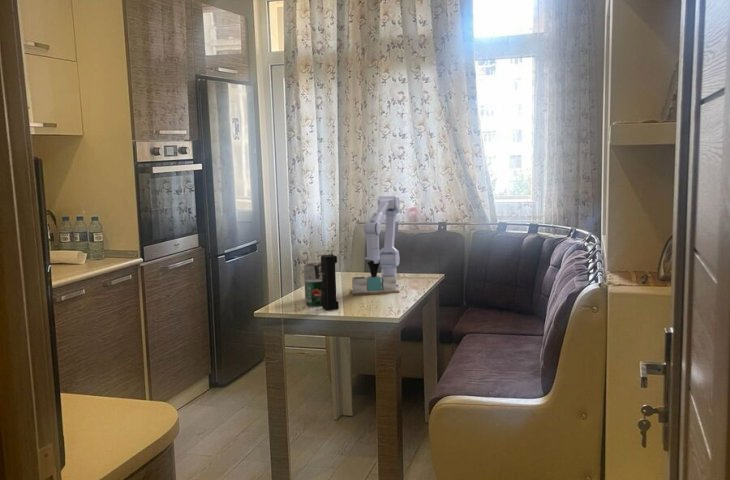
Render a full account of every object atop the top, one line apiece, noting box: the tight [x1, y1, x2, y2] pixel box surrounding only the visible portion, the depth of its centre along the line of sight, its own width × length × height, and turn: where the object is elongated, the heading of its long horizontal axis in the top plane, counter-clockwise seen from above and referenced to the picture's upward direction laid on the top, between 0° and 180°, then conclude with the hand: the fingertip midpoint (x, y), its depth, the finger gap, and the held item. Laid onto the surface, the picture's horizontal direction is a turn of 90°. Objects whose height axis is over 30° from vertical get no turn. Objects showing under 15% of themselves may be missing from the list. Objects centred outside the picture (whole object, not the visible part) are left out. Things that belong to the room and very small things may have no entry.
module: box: [365, 275, 382, 291], centre depth 322 cm, size 4×6×6 cm
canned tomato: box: [304, 279, 322, 308], centre depth 297 cm, size 8×8×11 cm
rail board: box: [349, 275, 400, 297], centre depth 322 cm, size 9×22×8 cm, turn 100°
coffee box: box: [303, 262, 322, 302], centre depth 310 cm, size 9×6×16 cm
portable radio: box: [320, 249, 340, 312], centre depth 288 cm, size 8×6×25 cm
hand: (373, 276), depth 322 cm, fingers closed, pressing on module
